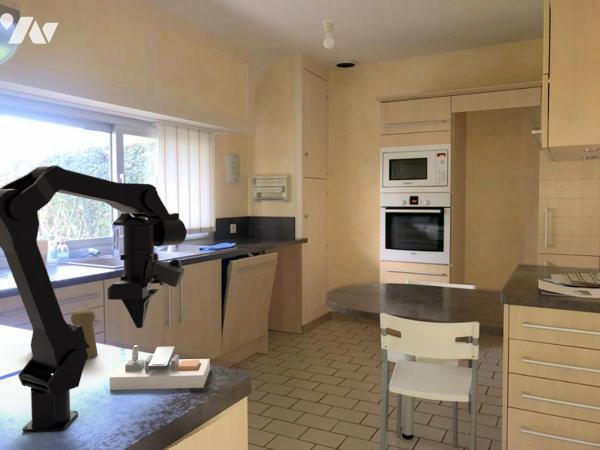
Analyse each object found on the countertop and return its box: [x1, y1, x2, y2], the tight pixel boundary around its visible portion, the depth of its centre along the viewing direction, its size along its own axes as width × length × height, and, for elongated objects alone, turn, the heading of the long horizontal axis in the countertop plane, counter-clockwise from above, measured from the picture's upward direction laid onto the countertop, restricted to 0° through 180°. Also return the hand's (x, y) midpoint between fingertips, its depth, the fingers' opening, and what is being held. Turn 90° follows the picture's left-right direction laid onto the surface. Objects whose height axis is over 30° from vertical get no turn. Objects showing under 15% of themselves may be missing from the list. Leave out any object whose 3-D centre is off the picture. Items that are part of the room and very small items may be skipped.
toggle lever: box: [131, 344, 140, 361], centre depth 102 cm, size 1×1×3 cm
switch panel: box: [109, 354, 211, 391], centre depth 102 cm, size 10×18×4 cm, turn 93°
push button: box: [179, 360, 200, 371], centre depth 102 cm, size 4×4×3 cm
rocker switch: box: [148, 346, 176, 370], centre depth 101 cm, size 8×4×1 cm, turn 3°
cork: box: [70, 308, 99, 360], centre depth 117 cm, size 6×6×11 cm
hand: (139, 327), depth 97 cm, fingers closed
